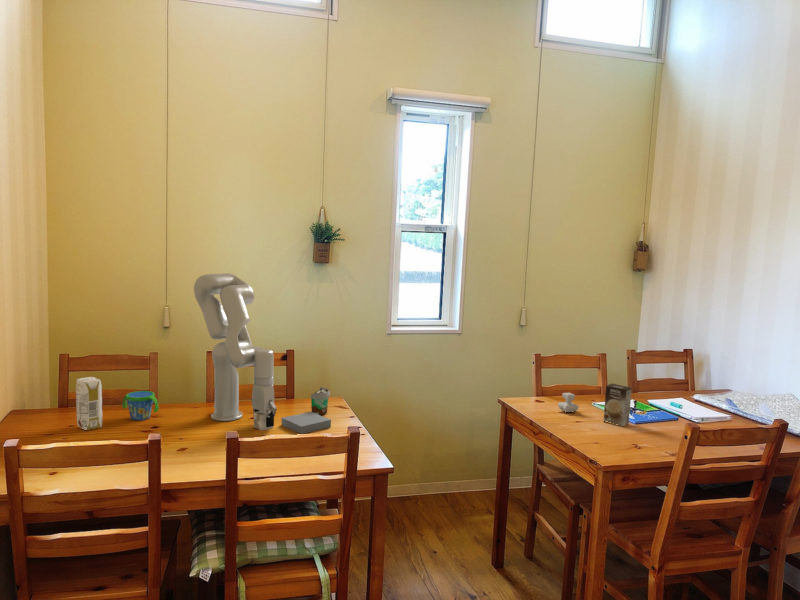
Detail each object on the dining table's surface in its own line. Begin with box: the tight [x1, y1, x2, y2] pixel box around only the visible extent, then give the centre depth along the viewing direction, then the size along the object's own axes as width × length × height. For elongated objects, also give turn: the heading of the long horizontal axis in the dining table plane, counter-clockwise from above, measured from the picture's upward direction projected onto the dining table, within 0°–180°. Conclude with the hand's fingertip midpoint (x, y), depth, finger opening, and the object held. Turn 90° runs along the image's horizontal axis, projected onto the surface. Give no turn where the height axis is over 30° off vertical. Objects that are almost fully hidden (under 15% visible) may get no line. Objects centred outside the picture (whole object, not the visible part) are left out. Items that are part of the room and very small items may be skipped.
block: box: [253, 411, 274, 431], centre depth 235 cm, size 6×6×6 cm
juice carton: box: [75, 376, 103, 431], centre depth 228 cm, size 8×9×19 cm
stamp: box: [557, 392, 580, 413], centre depth 269 cm, size 9×7×8 cm
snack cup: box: [121, 390, 160, 421], centre depth 241 cm, size 16×10×10 cm
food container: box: [310, 386, 331, 416], centre depth 255 cm, size 12×6×10 cm, turn 168°
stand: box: [281, 411, 332, 435], centre depth 238 cm, size 14×14×3 cm
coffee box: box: [603, 383, 632, 427], centre depth 254 cm, size 9×6×16 cm
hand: (263, 423), depth 235 cm, fingers open, 9 cm apart
